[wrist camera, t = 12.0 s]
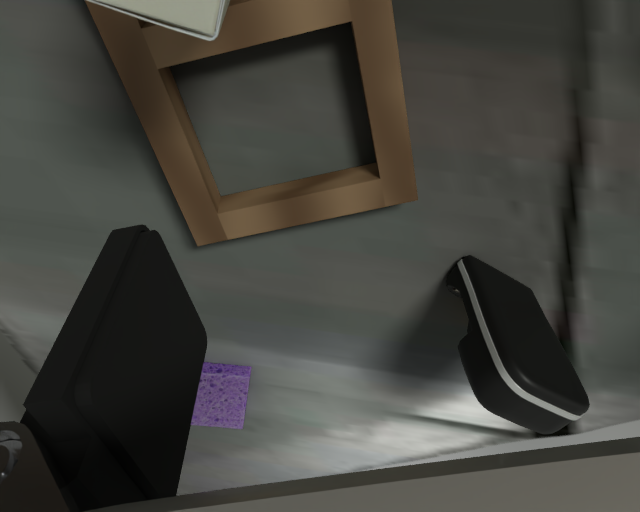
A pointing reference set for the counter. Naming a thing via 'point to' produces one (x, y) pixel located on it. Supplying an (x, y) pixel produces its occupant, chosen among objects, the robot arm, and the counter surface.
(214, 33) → the skincare box
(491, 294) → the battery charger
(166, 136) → the rack
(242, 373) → the sponges
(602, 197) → the counter surface
